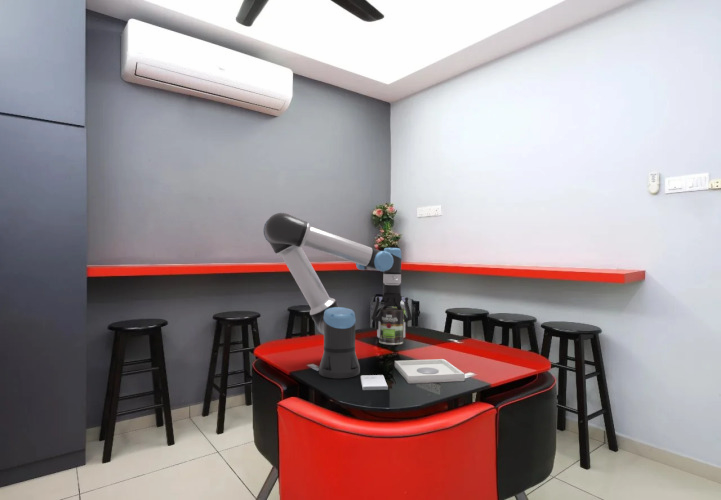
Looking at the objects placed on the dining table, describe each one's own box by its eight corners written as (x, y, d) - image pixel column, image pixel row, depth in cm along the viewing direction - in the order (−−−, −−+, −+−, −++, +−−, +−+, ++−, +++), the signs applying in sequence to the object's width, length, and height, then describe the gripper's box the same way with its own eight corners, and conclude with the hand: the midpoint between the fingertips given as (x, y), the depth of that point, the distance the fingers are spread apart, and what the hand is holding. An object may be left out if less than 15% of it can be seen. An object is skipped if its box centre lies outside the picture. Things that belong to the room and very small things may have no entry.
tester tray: (408, 383, 134) (408, 376, 134) (394, 367, 153) (394, 360, 153) (464, 380, 137) (464, 373, 137) (443, 365, 156) (443, 359, 156)
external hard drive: (362, 391, 127) (360, 379, 140) (387, 391, 128) (383, 379, 140) (362, 386, 127) (360, 375, 140) (387, 386, 128) (383, 374, 140)
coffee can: (400, 345, 160) (401, 311, 160) (376, 343, 163) (376, 309, 163) (405, 341, 170) (405, 308, 170) (382, 339, 173) (382, 306, 173)
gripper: (367, 284, 162) (366, 338, 161) (420, 285, 165) (419, 338, 165) (364, 283, 169) (363, 335, 169) (415, 284, 173) (414, 335, 172)
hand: (391, 336), depth 167 cm, fingers closed on coffee can, 10 cm apart
